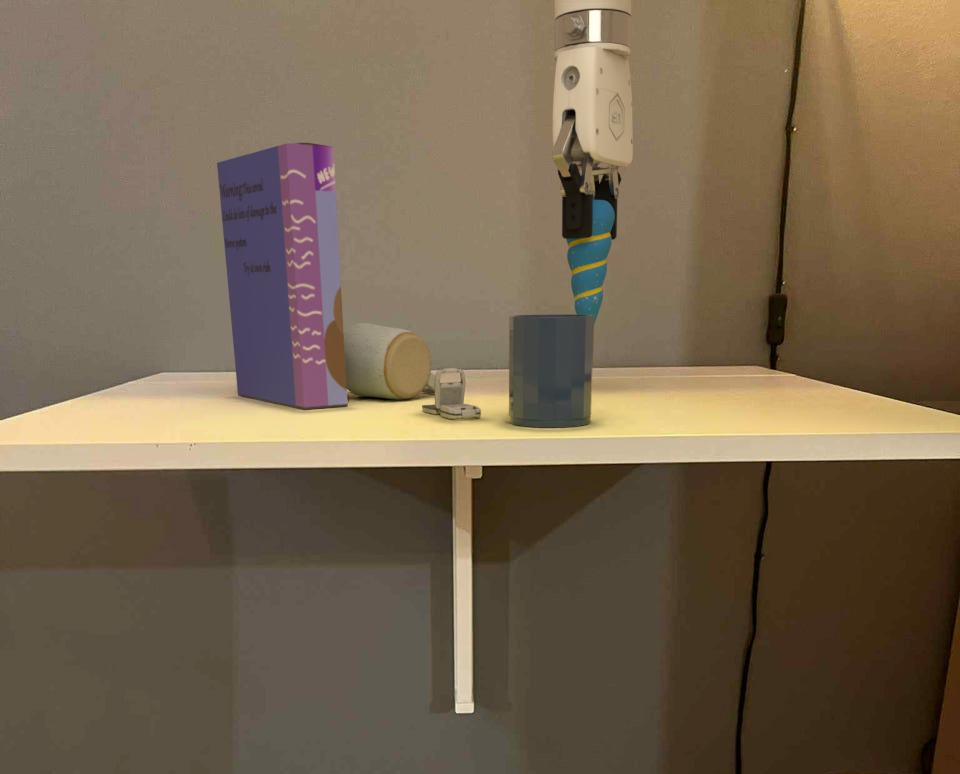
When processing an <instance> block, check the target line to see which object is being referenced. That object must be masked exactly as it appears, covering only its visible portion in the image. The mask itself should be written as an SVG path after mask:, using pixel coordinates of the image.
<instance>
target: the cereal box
mask: <svg viewBox="0 0 960 774" xmlns="http://www.w3.org/2000/svg"><path fill="white" fill-rule="evenodd" d="M216 166H217V167H216V169H217V179H218V188H219V190H218V191H219V200H220V201H219V202H220V213H221V223H222V235H223V244H224V245H223V246H224V256H225V266H226V267H225V268H226V277H227V279H226V280H227V289H228V299H229V300H228V301H229V311H230V322H231V332H232V342H233V343H232V344H233V355H234V366H235V377H236V388H237V396H240V397H243V398H248V399H253V400H258V401H263V402H267V403H271V404H277V405H281V406H286V407H291V408H295V409H297V410H302V411H303V410H304V411H305V410H306V411H307V410H318V409H331V408H342V407H343V408H344V407H348V393H347V392H348V390H347V389H346V370H345V351H344V333H345V332H344V318H343V314H344V313H343V298H342V281H341V278H342V277H341V262H340V260H341V259H340V243H339V242H340V241H339V224H338V223H339V222H338V202H337V187H336V185H337V184H336V169H335V149H334V146H331V145H326V144H319V143H313V142H294V143H293V142H292V143H290V142H289V143H282V144H280V145H279V144H278V145H276V146H271V147H268V148H265V149H261V150H258V151H254V152H251V153H247V154H244V155H240V156H236V157H233V158H229V159H225V160H222V161H218V162H216Z"/></svg>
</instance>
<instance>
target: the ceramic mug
mask: <svg viewBox="0 0 960 774" xmlns="http://www.w3.org/2000/svg"><path fill="white" fill-rule="evenodd" d="M343 333H344V351H345V370H346V389H347V392H350V393H351V394H353V395H356V396H359V397H366V398H367V397H368V398H376V399H387V400H395V401H399V400H401V401H402V400H407V399H412V398H415V397H416V396H418V395H419V394H420V393H424V394H429V395H432V394H434V395H435V384H434V383H435V377H436V374H434V373H432V357H431V352H430V349H429V347H428V344H427V343H426V341H425V340H424V339H423V338H422V337H421V336H420V335H418V334H416V333H415V332H414V331H413V332H412V331H410V330H408V329H404V328H398V327H391V326H385V325H378V324H374V323H369V322H360V323H356V324H354V325H352V326H350V327H349V328H348V329H347V330H346V331H344V332H343Z"/></svg>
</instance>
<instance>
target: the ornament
mask: <svg viewBox="0 0 960 774" xmlns="http://www.w3.org/2000/svg"><path fill="white" fill-rule="evenodd" d="M590 184H591V183H590ZM588 194H592V195H593V219H592V236H591V237H589V238H573V239H565V240H566V244H567V246H568V249H567V252H566V260H567V263H568V266H569V269H570V271H571V279H570V286H571V291H572V295H573V297H574V298H573V299H574V310H575V314H576V315H594V325H595V324H596V321H597V318H598V316H599V312H600V308H601V306H602V303H603V299H604V289H603V285H604V282H605V279H606V276H607V273H608V263H607V258H608V256H609V253H610V250H611V247H612V244H613V243H612V242H613V240H612V238H611V234H610V232H611V229H612V226H613V224H614V219H615V213H614V210H613V207H612V206H611V204H610V203H609V202H607V201H605V200H594V195H595V191H594V190H591V188H589V193H588ZM588 194H586V195H588Z"/></svg>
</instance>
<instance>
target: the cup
mask: <svg viewBox="0 0 960 774" xmlns="http://www.w3.org/2000/svg"><path fill="white" fill-rule="evenodd" d="M594 336H595V324H594V315H577V314H576V313H575V314H567V313H565V314H564V313H563V314H562V313H561V314H558V313H557V314H556V313H555V314H554V313H553V314H545V313H544V314H514V315H513V314H512V315H509V316H508V361H509V362H508V417H509V423H510V424H511V425H515V426H518V427H519V426H520V427H527V428H528V427H529V428H546V429H547V428H548V429H549V428H553V429H554V428H555V429H556V428H572V427H581V426H586V425H589V424H590V423H591V422H592V409H593V408H592V406H593V405H592V404H593V403H592V401H593V375H594V374H593V373H594V372H593V371H594V339H595V337H594Z"/></svg>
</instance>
